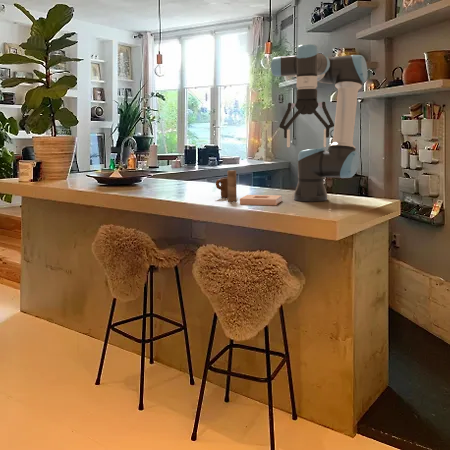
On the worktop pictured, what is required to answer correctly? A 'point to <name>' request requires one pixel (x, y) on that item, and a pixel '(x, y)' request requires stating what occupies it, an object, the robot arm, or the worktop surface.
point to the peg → (231, 185)
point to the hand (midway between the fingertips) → (306, 147)
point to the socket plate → (261, 199)
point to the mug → (223, 186)
